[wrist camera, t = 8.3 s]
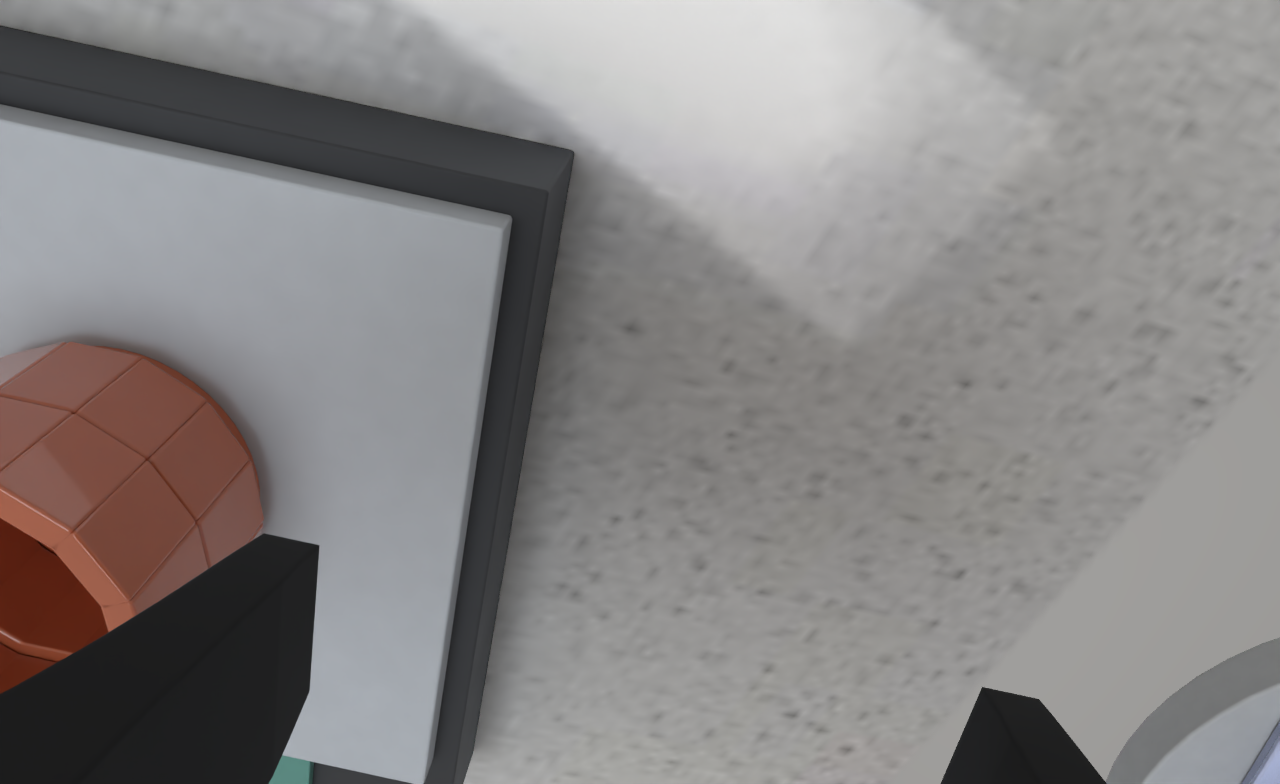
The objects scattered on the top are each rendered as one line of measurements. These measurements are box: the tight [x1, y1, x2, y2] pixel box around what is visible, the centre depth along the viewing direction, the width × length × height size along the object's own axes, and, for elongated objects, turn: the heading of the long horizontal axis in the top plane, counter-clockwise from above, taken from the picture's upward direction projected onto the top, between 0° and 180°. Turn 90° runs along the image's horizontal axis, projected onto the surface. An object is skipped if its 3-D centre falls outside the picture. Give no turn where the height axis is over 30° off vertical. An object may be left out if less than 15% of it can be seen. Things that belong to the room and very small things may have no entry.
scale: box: [0, 26, 574, 784], centre depth 21 cm, size 15×13×4 cm
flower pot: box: [0, 342, 264, 694], centre depth 17 cm, size 5×6×4 cm
